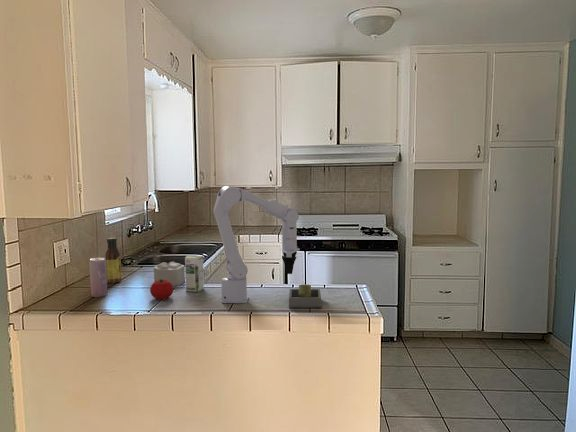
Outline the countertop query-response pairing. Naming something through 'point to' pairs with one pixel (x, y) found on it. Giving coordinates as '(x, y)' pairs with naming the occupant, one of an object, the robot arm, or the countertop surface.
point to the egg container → (170, 273)
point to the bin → (304, 300)
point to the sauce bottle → (113, 261)
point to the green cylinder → (304, 290)
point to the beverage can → (98, 277)
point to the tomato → (161, 289)
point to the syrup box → (194, 273)
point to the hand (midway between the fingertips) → (289, 271)
